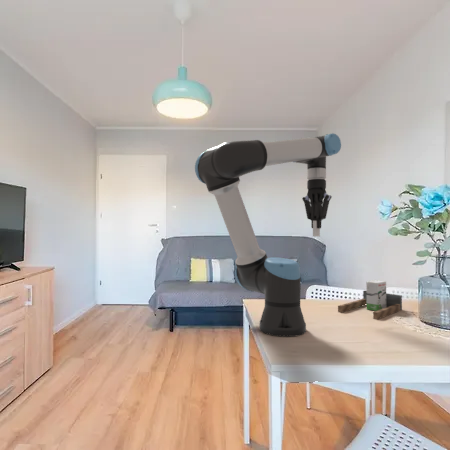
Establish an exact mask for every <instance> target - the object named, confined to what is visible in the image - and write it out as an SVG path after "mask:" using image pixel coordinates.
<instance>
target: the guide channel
mask: <svg viewBox="0 0 450 450" xmlns="http://www.w3.org/2000/svg"><path fill="white" fill-rule="evenodd" d="M362 293H363V295H362V298H361V299H358V300H357V299H356V300H354V301H351V302H347V303H343V304H340V305H337V313H344V312H349V311H351V310H354V308H355V309H357V307H358V308H360V307H359V306H361V307H363V306H362V305H364V306H366V305H365V304H367V291H366V290H363V291H362ZM402 310H403V296H402V295H400V294H394V293H393V294H392V293H387V292H386V308H384V309H381V310H378V311H373V312H372V314H373V315H372V316H373V317H372V319H374V320H379V319H381V318H385V317H387V316H390V315H392V314H395V313H397V312H401V311H402Z"/></svg>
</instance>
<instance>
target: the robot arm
mask: <svg viewBox="0 0 450 450" xmlns="http://www.w3.org/2000/svg"><path fill="white" fill-rule="evenodd" d="M341 148H342V141H341V138H340V137H339V135H338V134H336V133H333V132H332V133H329V134H328V133H327V134H325V135H321V136H320V135H319V136H311V137H310V136H309V137H304V138H302V137H301V138H294V139H293V138H292V139H284V140H274V141H266V142H264V141H262V140H260V139H255V140H254V139H253V140H234V141H233V140H232V141H226V142H223V143H220V144H219V145H217V146H213V147H211V148H208V149H207V150H205V151H204V152H202V153H200V154H199V156H198V157H197V159H196V161H195V163H194V164H195V165H194V171H195V175H196V177H197V180H199V182H201V183H203V184H204V185H205V186H206V188H207V191H208V193H210V194H212V195H213V196H214V197H215V199H216V200H215V201H216V203H217V205H218V209H219V212H220V213H221V216H222V218H223V221H224V224H225V226H226V227H225V228H226V229H227V232H228V235H229V237H230V240H231V243H232V245H233V248H234V251H235V254H236V256H237V257H236V259H235V262H234V263H235V270H234V277H235V281H236V282H237V284H238V286H240V287H241V288H242V289H245V290H247V291H249V292H253V293H254V292H255V293H259V294H261V295H262V294H264V307H263V311H262V314H261V317H260V320H259V331H260V332H261V333H263V334H266V335H269V336H270V335H271V336H275V337H297V336H302V335H304V334H305V333H306V332H307V327H306V326H307V324H306V321H305V318H304V315H303V311H302V308H301V307H302V306H301V288H302V287H301V283H302V282H301V280H302V278H301V276H302V274H301V266H300V263H299V262H298V261H296V260H294V259H291V258H286V257H285V258H283V257H274V256H273V257H268V255H267V252H266V251H265V250H264V249H262V248H260V246H259V243H258V240H257V236H256V234H255V231H254V228H253V226H252V222H251V220H250V217H249V214H248V212H247V209H246V207H245V204H244V201H243V197H242V195H241V192H240V189H239V184H240V182H241V179H240V177H241V176H245V175H247V174H250V173H252V172H253V173H254V172H257V171H262V170H264V169H265V168H266V167H268V166H274V165H282V164H287V163H296V164H297V163H298V164H304V165H306V166H307V167H306V168H307V173H306V174H307V175H306V176H307V183H306V185H307V188H306V189H307V194H306V196H302V197H301V198H302V199H301V200H302V202H303V203H304V204H303V205H304V209H305V214H306V218H307V220H310V221H311V229H312V237H321V235H320V234H321V233H320V232H321V229H322V221H323V220H325V219H326V218H327V214H328V209H329V205H330V200H331V199H332V197H333V196H332V195H329V194H328V193H327V191H326V189H327V180H326V179H327V157H329V156H333V155H336V154H338V153H340V150H341Z"/></svg>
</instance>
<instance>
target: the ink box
mask: <svg viewBox="0 0 450 450" xmlns="http://www.w3.org/2000/svg"><path fill="white" fill-rule="evenodd" d="M365 287H366V290H365V291H367V305H366V310H367V311H373V312H375V311H378V310H381V309H384V308H386V293H387V281H386V280H378V279H372V280H367V281H366V286H365Z"/></svg>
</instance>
